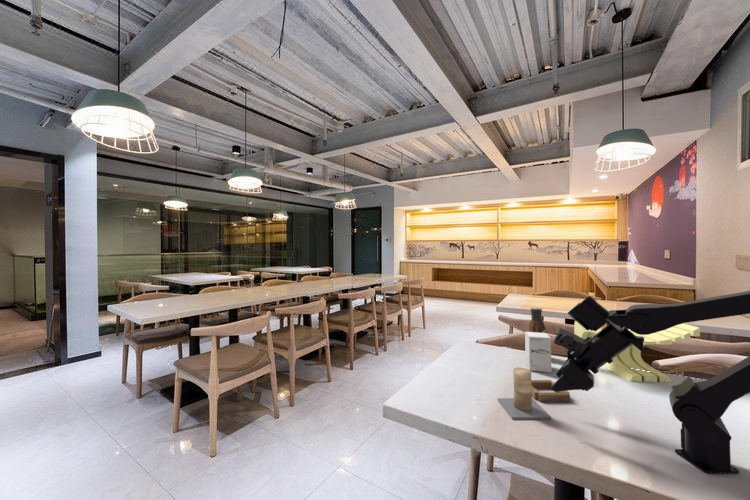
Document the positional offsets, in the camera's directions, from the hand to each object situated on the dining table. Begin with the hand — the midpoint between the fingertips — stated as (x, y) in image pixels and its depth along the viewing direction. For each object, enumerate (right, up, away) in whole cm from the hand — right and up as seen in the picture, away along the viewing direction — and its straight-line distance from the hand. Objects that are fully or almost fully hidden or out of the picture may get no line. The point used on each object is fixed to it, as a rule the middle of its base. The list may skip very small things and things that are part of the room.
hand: (555, 382), depth 78 cm
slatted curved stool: (+45, -9, +28) cm, 53 cm away
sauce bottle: (+20, -10, +45) cm, 50 cm away
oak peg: (-6, -9, +5) cm, 12 cm away
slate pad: (-6, -9, +5) cm, 12 cm away
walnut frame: (+5, -9, +13) cm, 17 cm away
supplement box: (+14, -10, +33) cm, 37 cm away
